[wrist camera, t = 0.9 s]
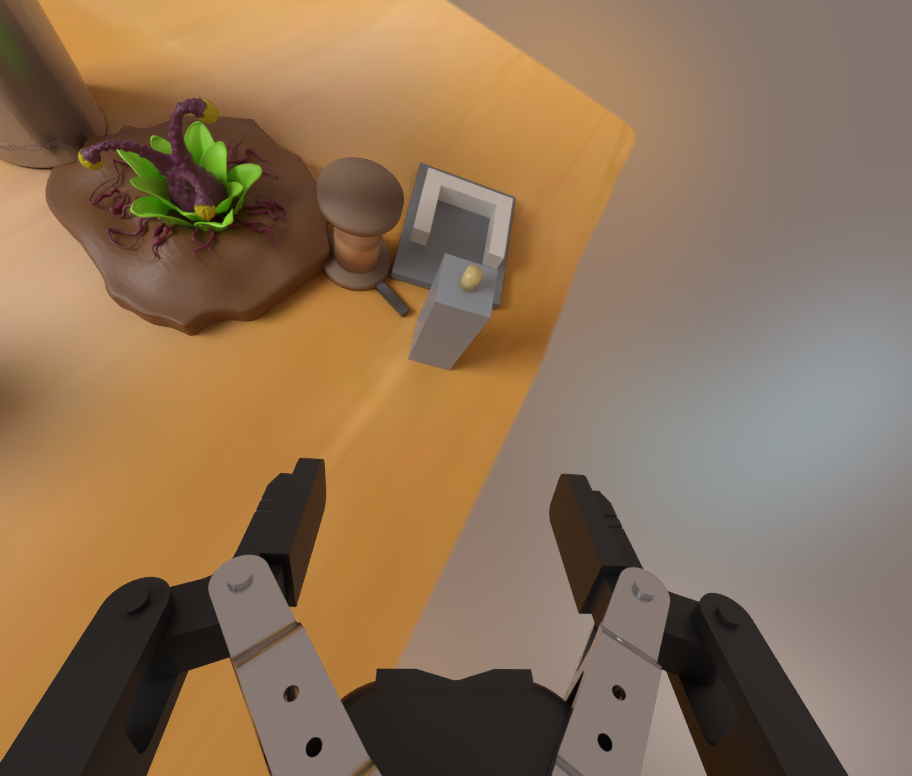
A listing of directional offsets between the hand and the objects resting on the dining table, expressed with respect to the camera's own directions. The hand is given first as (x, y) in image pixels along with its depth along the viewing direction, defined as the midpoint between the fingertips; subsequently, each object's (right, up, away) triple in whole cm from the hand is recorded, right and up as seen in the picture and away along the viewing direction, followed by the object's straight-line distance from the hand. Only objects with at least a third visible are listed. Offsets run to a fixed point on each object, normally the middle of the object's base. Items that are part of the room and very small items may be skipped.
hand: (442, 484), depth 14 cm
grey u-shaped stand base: (0, +19, +29) cm, 35 cm away
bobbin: (-9, +14, +25) cm, 30 cm away
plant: (-21, +18, +23) cm, 36 cm away
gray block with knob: (-2, +7, +25) cm, 26 cm away
